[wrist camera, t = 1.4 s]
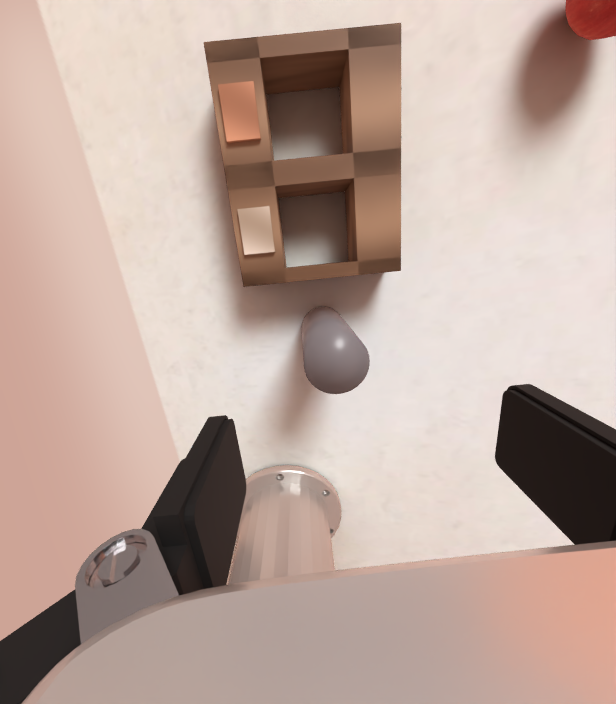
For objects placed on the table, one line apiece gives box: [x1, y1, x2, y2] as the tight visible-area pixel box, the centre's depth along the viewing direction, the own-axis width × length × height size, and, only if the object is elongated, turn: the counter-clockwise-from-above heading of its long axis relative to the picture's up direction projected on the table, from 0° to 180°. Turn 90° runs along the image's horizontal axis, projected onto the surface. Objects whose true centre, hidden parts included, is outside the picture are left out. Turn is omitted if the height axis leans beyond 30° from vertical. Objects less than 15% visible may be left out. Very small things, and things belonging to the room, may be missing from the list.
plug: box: [302, 307, 369, 394], centre depth 22 cm, size 4×4×10 cm
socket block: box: [204, 23, 401, 287], centre depth 21 cm, size 14×12×4 cm
